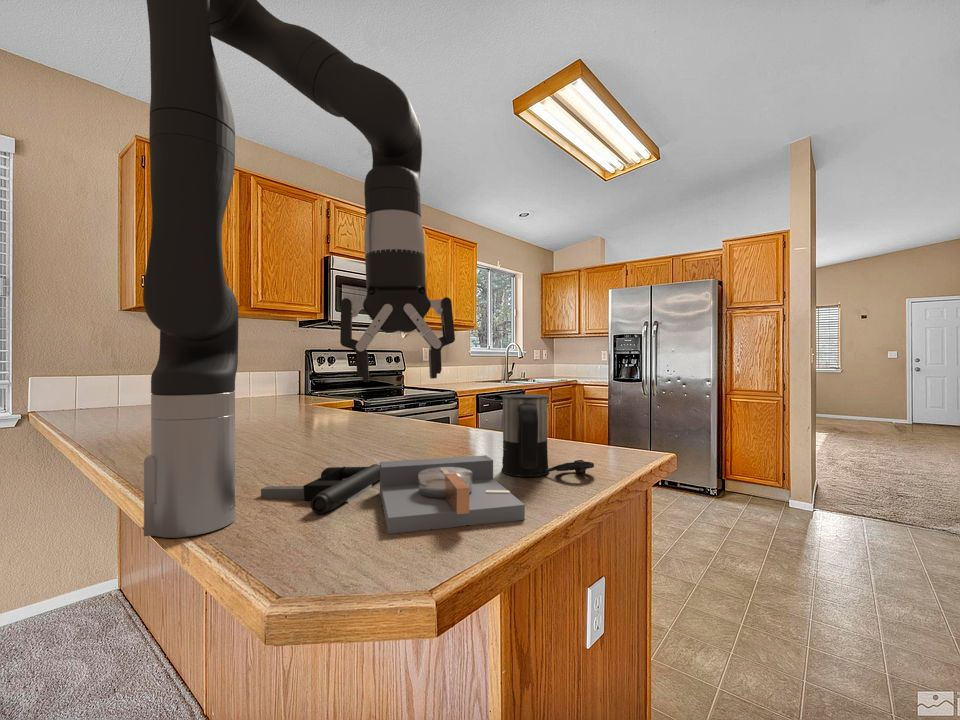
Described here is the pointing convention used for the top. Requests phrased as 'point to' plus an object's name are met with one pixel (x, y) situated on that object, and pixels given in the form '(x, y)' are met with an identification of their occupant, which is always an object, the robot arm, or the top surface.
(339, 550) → the top surface
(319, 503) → the door handle
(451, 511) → the panel
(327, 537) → the top surface
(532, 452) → the milk frother
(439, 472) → the dial
